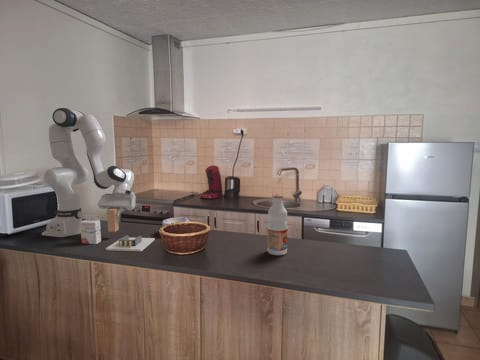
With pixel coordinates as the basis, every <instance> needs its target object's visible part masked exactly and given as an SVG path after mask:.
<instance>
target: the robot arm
mask: <svg viewBox="0 0 480 360" xmlns="http://www.w3.org/2000/svg"><path fill="white" fill-rule="evenodd" d="M52 121H53V122H54V123H52V124H51V125H49V128H48V141H49V146H50V147H49V148H50V152H51V156H52V157H53V159H54V160H55V161H58V162H59V163H60V165H61V166H59V167H53V168H50V169H47V170H46V171H45V172H44V174H43V179H44V180H43V181H44V182H45V184H46V185H47V186H48V187H50V188H52V190H53V191H54V193H55V194H56V197H57V204H58V205H57V206H58V210H56V211H54V213H55V214H56V216H55V217H54V218H52V219H51V220H50V221H49V222H48V223H47V224H46V229H45V230H44V231H42V232H41V236H46V237H57V238H65V237H69V236H75V235H81V223H80V222H82V221H83V220H82V218H83V216H82V215H83V213H82V211H83V210H82V208H81V198H80V194H79V193H77V192H76V191H74V190H73V189H72V186H74V185H79V184H82V183H85V182H87V181H88V179H89V176H90V174H89V170H88V169H87V167H85V166H84V165H82V164H81V163H80V162H79V160H78V159H77V156H76V154H75V150H74V146H73V142H72V136H71V135H72V132H73V133H75V132H77V131H80V133H81V135H82V137H83V140H84V144H85V147H86V148H85V149H86V155H87V158H88V161H89V165H90V168H91V171H92V175H93V183H94V184H95V186H97V188H98V189H101V190H107V189H109V188H111V187H112V186H114V188H113V190H112V192H111V193H104V194H103V195H101V197H100V199H99V200H98V203H97V206H98V207H99V209H103V210H106V212H105V215H106V216H108V214H107V210H109V209H111V208H113V209H118V212H116V214H115V215H116V216H118V217H119V216H120V214H122V213H123V212H124V211H133V210H134V209H135V208H136V201H137V197H136V195H135V192H133V191H131V189H132V188H133V184H134V183H135V174H134V172H133V171H132V170H131V169H128V168H124V169H123V168H120V167H118V166H117V165H111V166H108V167H107V168H105V169H104V166H103V163H102V161H101V153H102V150H103V149H104V147H105V146H106V145H105V144H106V142H107V138H106V135H105V132H104V130H103V128H102V126H101V125H100V123H99V121H98V120H97V118H96V117H95V115H93V114H90V113H89V114H88V113H85V114H84V113H83V112H82V111H79V110H75V109H72V108H67V107H59V108H56V109H55V110H54V111H53V112H52Z"/></svg>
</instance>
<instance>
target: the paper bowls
mask: <svg viewBox="0 0 480 360" xmlns="http://www.w3.org/2000/svg"><path fill="white" fill-rule="evenodd" d="M177 222H189V223H190V220H189V218H186V217H170V218H166V219H163V220H162V224H161V225H162V226H165V225H168V224H171V223H177ZM162 226H161V227H162Z"/></svg>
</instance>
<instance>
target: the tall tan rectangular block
mask: <svg viewBox="0 0 480 360" xmlns="http://www.w3.org/2000/svg"><path fill="white" fill-rule="evenodd" d="M118 211H119V209H113V208H111V209H109V210H107V211H106V212H107V214H108V215H107V232H109V233H110V232H114V233H116V232H117V231H119V216H116V215H115V214H116V212H118Z"/></svg>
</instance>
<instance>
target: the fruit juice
mask: <svg viewBox="0 0 480 360" xmlns="http://www.w3.org/2000/svg"><path fill="white" fill-rule="evenodd" d="M283 199H284V195H283V194H277V193H276V194H275V193H274V194H273V195H272V201H273V202H272V205H271V206H270V208H269V209H268V211H267V217H268V221H267V244H266V247H267V250H266V251H267V253H268V254H269V255H272V256H283V255H286V254H287V252H288V221H287V217H288V210H287V209H286V208H285V206H284V202H283Z"/></svg>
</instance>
